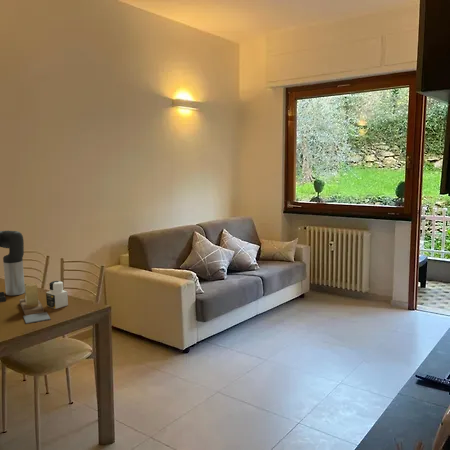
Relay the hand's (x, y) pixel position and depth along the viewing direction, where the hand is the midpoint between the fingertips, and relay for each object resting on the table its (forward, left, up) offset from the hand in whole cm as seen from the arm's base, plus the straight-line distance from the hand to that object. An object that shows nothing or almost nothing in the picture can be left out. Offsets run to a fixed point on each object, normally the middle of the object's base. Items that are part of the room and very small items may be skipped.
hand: (5, 296), depth 211 cm
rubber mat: (+14, +11, -8) cm, 20 cm away
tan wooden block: (0, +11, -6) cm, 13 cm away
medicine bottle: (0, +22, -8) cm, 24 cm away
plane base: (-3, +11, -8) cm, 14 cm away
